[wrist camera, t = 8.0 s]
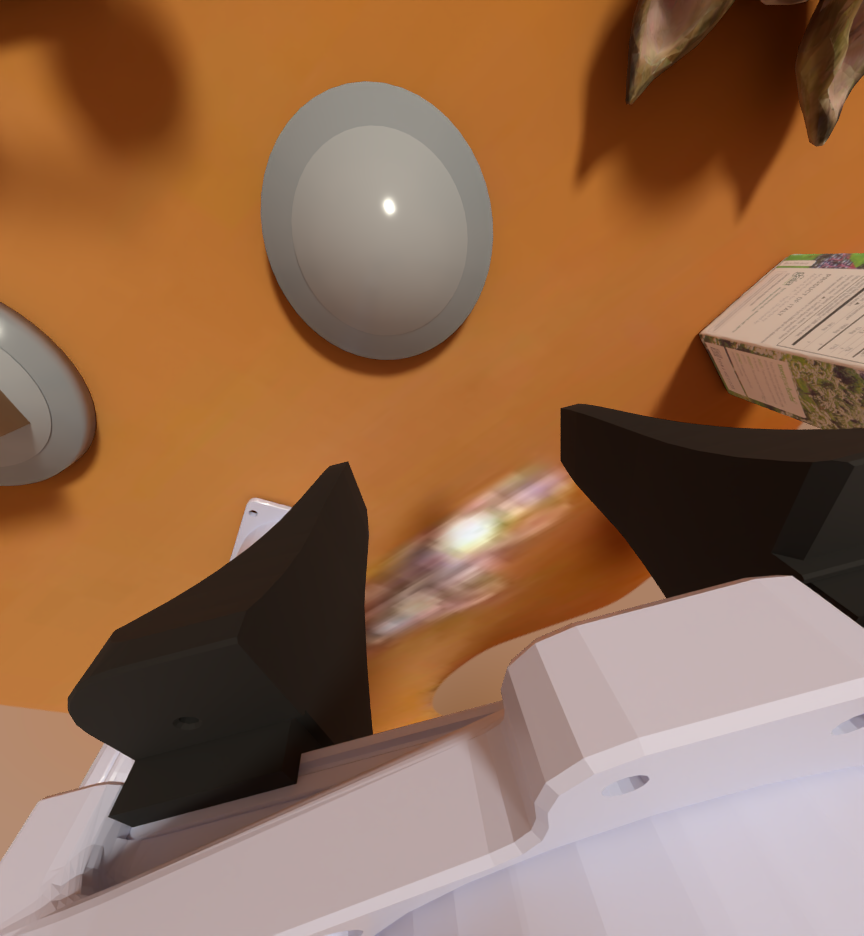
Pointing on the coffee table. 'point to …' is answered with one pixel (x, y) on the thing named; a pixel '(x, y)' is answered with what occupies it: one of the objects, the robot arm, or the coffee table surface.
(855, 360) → the syrup box
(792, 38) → the coffee table surface
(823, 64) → the ceramic sculpture
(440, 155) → the right dish
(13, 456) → the left dish
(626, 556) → the coffee table surface
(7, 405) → the walnut block
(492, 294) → the coffee table surface
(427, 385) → the coffee table surface
